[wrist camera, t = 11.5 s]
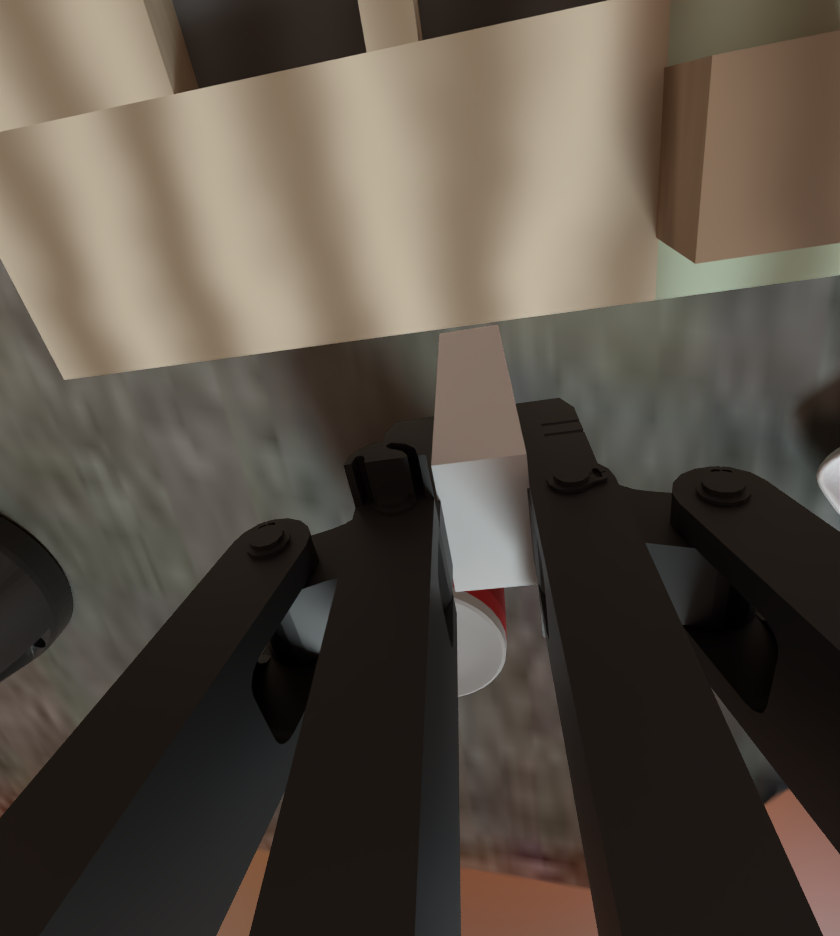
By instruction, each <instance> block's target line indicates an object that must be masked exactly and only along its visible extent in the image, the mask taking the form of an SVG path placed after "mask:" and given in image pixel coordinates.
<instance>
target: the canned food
mask: <svg viewBox="0 0 840 936" xmlns="http://www.w3.org/2000/svg"><path fill="white" fill-rule="evenodd" d="M453 596H454V601H455V606H456V611H457V661H458V697H460V696H463V695H467V694H470V693H473V692H475V691H477V690H479V689H481V688H483V687H485V686H486V685H487V684H489V683H490V682H491V681H493V680H494V679H495V677H496V676H497V675H498V674H499V673H500V671H501V669H502V667H503V665H504V663H505V657H506V646H507V634H506V612H505V597H504V588H493V589H483V590H472V591H461V592H455V587H454V582H453Z"/></svg>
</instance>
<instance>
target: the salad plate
mask: <svg viewBox="0 0 840 936" xmlns="http://www.w3.org/2000/svg"><path fill="white" fill-rule="evenodd" d="M816 477H817V482H818V485H819V487H820V488H821V490H822V492H823V494H824V495H825V497H826V498H827V499H828V500H829V502H830V503H831V505H832V506H833V507H834V509H835V510H836V511H837V512H838V514H839V515H840V447H839V448H837V449H836V450H835V451H833V452H832V453H830V454H829V455H828V456H827V457H826V458H825V459H824V461H823V462H822V463H821V465H820V466H819V468H818V471H817V476H816Z"/></svg>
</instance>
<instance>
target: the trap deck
mask: <svg viewBox="0 0 840 936" xmlns="http://www.w3.org/2000/svg"><path fill="white" fill-rule="evenodd" d="M837 30H840V0H0V259H1V261H2V262H3V264H4V266H5V268H6V270H7V272H8V274H9V276H10V278H11V280H12V281H13V283H14V285H15V287H16V289H17V291H18V293H19V295H20V297H21V299H22V300H23V302H24V304H25V306H26V308H27V310H28V312H29V314H30V316H31V318H32V319H33V321H34V323H35V325H36V327H37V329H38V331H39V333H40V335H41V337H42V339H43V340H44V342H45V344H46V346H47V348H48V350H49V352H50V354H51V356H52V358H53V359H54V361H55V363H56V365H57V367H58V369H59V371H60V373H61V375H62V377H63V378H64V380H68V379H75V378H83V377H90V376H97V375H105V374H112V373H119V372H127V371H134V370H142V369H149V368H156V367H164V366H171V365H179V364H186V363H193V362H201V361H208V360H216V359H223V358H230V357H238V356H245V355H253V354H260V353H267V352H275V351H282V350H290V349H297V348H304V347H312V346H319V345H327V344H334V343H341V342H349V341H356V340H364V339H371V338H378V337H386V336H393V335H401V334H408V333H415V332H423V331H430V330H438V329H445V328H452V327H460V326H467V325H474V324H482V323H489V322H497V321H504V320H511V319H519V318H526V317H534V316H541V315H548V314H556V313H563V312H571V311H578V310H585V309H593V308H600V307H608V306H615V305H622V304H630V303H637V302H645V301H652V300H659V299H667V298H674V297H682V296H689V295H696V294H704V293H711V292H719V291H726V290H733V289H741V288H748V287H756V286H763V285H770V284H778V283H785V282H792V281H800V280H807V279H815V278H822V277H829V276H837V275H840V243H836V244H829V245H822V246H815V247H808V248H801V249H794V250H787V251H780V252H774V253H767V254H760V255H753V256H746V257H739V258H732V259H725V260H718V261H712V262H705V263H698V264H695V263H693V262H692V261H690V260H689V259H687V258H686V257H684V256H683V255H681V254H680V253H678V252H677V251H675V250H674V249H672V248H671V247H669V246H668V245H666V244H665V243H663V242H662V241H660V240H659V239H657V238H656V232H657V211H658V190H659V169H660V148H661V127H662V106H663V84H664V68H665V67H669V66H673V65H677V64H681V63H684V62H688V61H692V60H696V59H700V58H704V57H708V56H712V55H717V54H722V53H727V52H732V51H737V50H742V49H747V48H752V47H757V46H762V45H767V44H772V43H777V42H782V41H787V40H792V39H797V38H802V37H807V36H812V35H817V34H822V33H827V32H832V31H837Z"/></svg>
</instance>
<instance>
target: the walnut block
mask: <svg viewBox="0 0 840 936" xmlns="http://www.w3.org/2000/svg"><path fill="white" fill-rule="evenodd" d="M656 238H657V239H659V240H660V241H662V242H663V243H665V244H666V245H668V246H669V247H671V248H672V249H674V250H675V251H677V252H678V253H680V254H681V255H683V256H684V257H686V258H687V259H689V260H690V261H692V262H693V263H695V264H698V263H705V262H712V261H718V260H725V259H732V258H739V257H746V256H753V255H760V254H767V253H774V252H780V251H787V250H794V249H801V248H808V247H815V246H822V245H829V244H836V243H840V30H837V31H832V32H827V33H822V34H817V35H812V36H807V37H802V38H797V39H792V40H787V41H782V42H777V43H772V44H767V45H762V46H757V47H752V48H747V49H742V50H737V51H732V52H727V53H722V54H717V55H712V56H708V57H704V58H700V59H696V60H692V61H688V62H684V63H681V64H677V65H673V66H669V67H665V68H664V84H663V106H662V127H661V148H660V169H659V190H658V211H657V232H656Z"/></svg>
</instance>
